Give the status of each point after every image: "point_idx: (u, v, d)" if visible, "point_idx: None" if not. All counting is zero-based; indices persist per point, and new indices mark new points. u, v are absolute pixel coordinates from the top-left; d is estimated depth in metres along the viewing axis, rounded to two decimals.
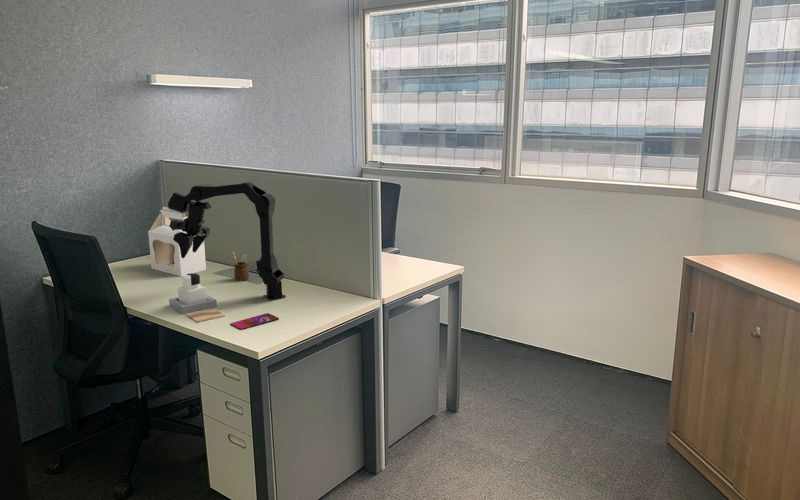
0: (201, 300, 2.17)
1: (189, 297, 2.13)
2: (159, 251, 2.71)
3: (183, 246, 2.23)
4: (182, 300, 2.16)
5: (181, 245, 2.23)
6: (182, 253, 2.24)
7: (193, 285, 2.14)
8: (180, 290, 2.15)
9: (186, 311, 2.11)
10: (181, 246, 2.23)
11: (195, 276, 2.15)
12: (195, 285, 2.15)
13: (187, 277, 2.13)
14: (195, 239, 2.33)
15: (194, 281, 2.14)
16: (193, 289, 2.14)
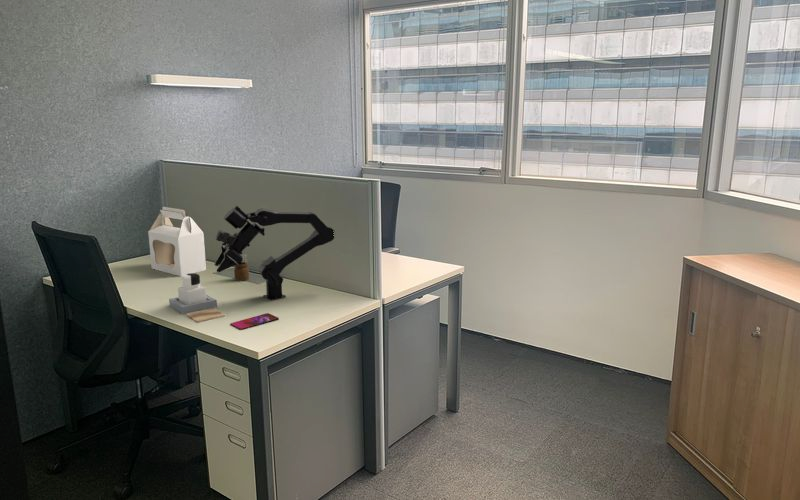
0: (201, 300, 2.17)
1: (189, 297, 2.13)
2: (159, 251, 2.71)
3: (226, 262, 2.14)
4: (182, 300, 2.16)
5: (225, 260, 2.13)
6: (221, 267, 2.14)
7: (193, 285, 2.14)
8: (180, 290, 2.15)
9: (186, 311, 2.11)
10: (225, 261, 2.13)
11: (195, 276, 2.15)
12: (195, 285, 2.15)
13: (187, 277, 2.13)
14: (223, 254, 2.23)
15: (194, 281, 2.14)
16: (193, 289, 2.14)
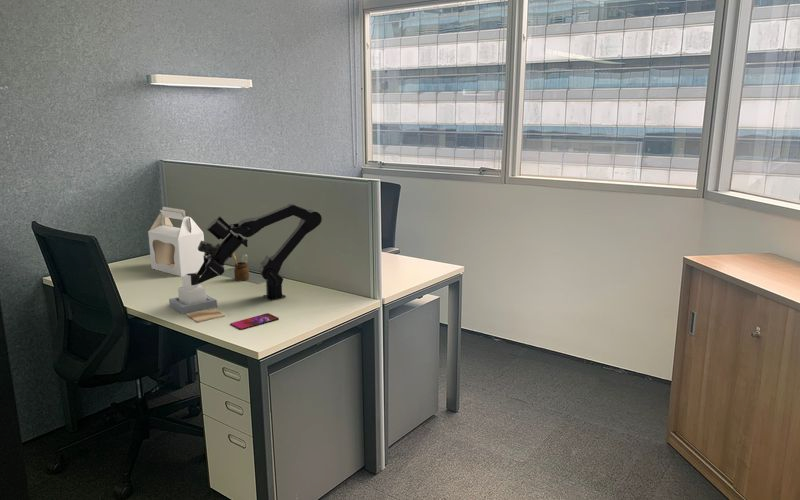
0: (201, 300, 2.17)
1: (189, 297, 2.13)
2: (159, 251, 2.71)
3: (208, 273, 2.12)
4: (182, 300, 2.16)
5: (207, 271, 2.12)
6: (202, 278, 2.12)
7: (193, 285, 2.14)
8: (180, 290, 2.15)
9: (186, 311, 2.11)
10: (206, 272, 2.12)
11: (195, 276, 2.15)
12: (195, 285, 2.15)
13: (187, 277, 2.13)
14: (205, 264, 2.22)
15: (194, 281, 2.14)
16: (193, 289, 2.14)
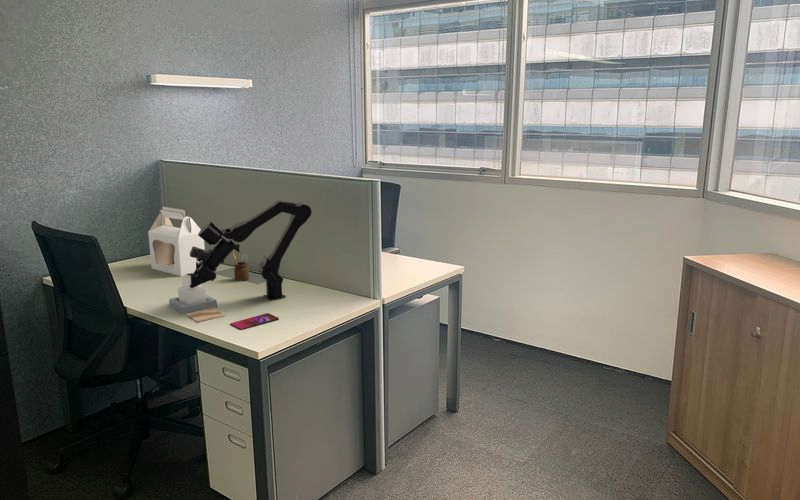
0: (201, 300, 2.17)
1: (189, 296, 2.13)
2: (159, 251, 2.71)
3: (200, 277, 2.13)
4: (182, 300, 2.16)
5: (199, 276, 2.12)
6: (194, 283, 2.13)
7: None
8: (180, 290, 2.15)
9: (186, 311, 2.11)
10: (198, 277, 2.13)
11: (195, 276, 2.15)
12: None
13: (187, 277, 2.13)
14: (198, 271, 2.20)
15: None
16: (193, 289, 2.14)
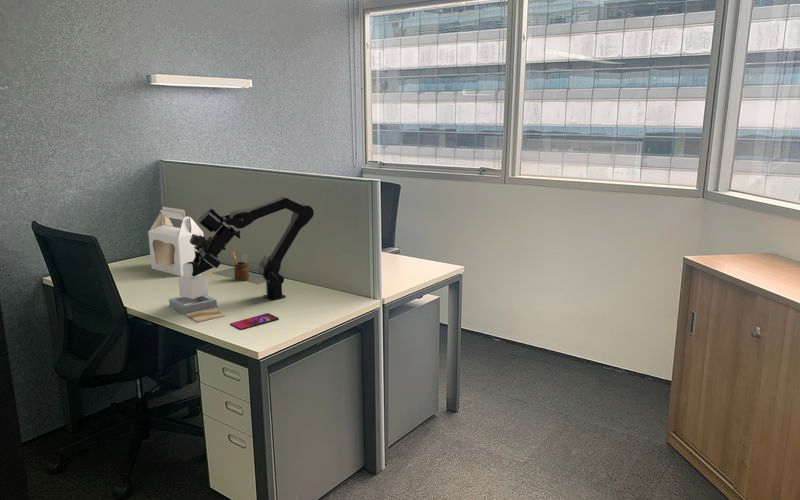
0: (203, 288, 2.13)
1: (191, 285, 2.09)
2: (159, 251, 2.71)
3: (202, 265, 2.09)
4: (183, 289, 2.11)
5: (201, 264, 2.09)
6: (196, 271, 2.09)
7: None
8: (181, 279, 2.11)
9: (186, 311, 2.11)
10: (200, 264, 2.09)
11: (196, 264, 2.11)
12: None
13: (188, 265, 2.09)
14: (198, 259, 2.16)
15: None
16: (195, 277, 2.10)
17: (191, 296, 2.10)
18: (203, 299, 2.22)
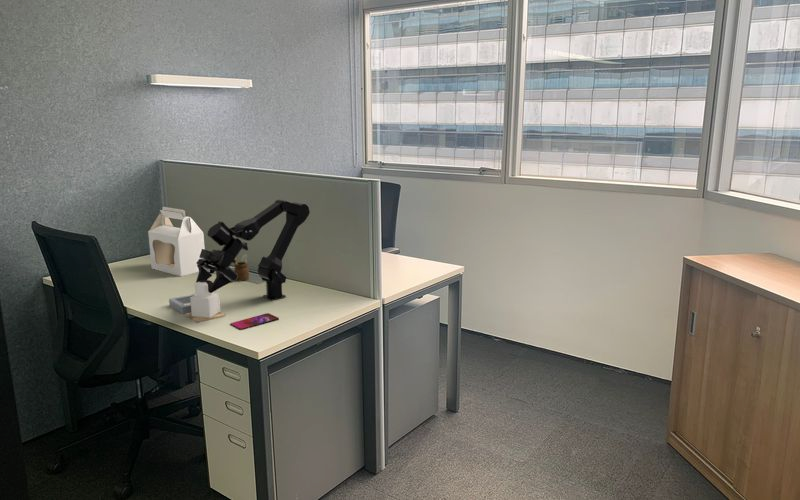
0: (216, 306, 2.08)
1: (209, 304, 2.03)
2: (159, 251, 2.71)
3: (219, 281, 2.04)
4: (197, 309, 2.05)
5: (219, 279, 2.03)
6: (213, 287, 2.03)
7: None
8: (194, 299, 2.04)
9: (186, 311, 2.11)
10: (218, 280, 2.03)
11: (210, 282, 2.06)
12: None
13: (203, 284, 2.04)
14: (203, 274, 2.11)
15: None
16: (210, 296, 2.05)
17: (208, 315, 2.04)
18: None
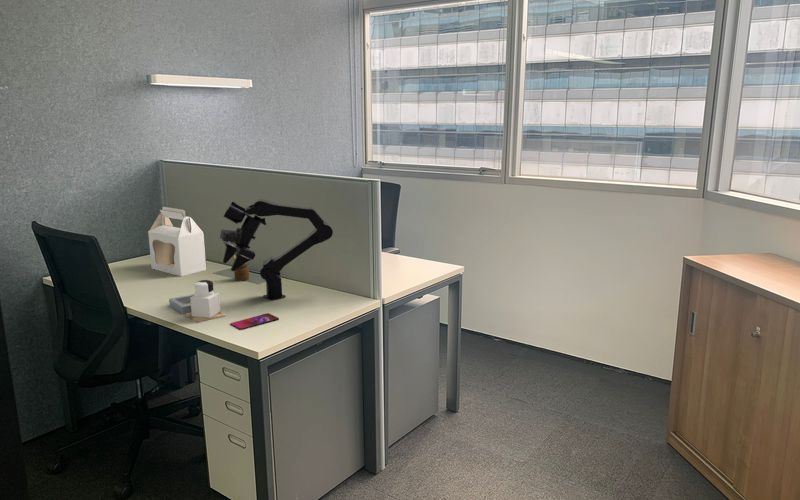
0: (216, 307, 2.08)
1: (209, 304, 2.03)
2: (159, 251, 2.71)
3: (239, 260, 2.17)
4: (197, 309, 2.05)
5: (238, 258, 2.16)
6: (235, 266, 2.17)
7: (210, 292, 2.05)
8: (194, 299, 2.04)
9: (186, 311, 2.11)
10: (237, 259, 2.16)
11: (210, 282, 2.06)
12: (211, 291, 2.06)
13: (203, 284, 2.04)
14: (229, 250, 2.25)
15: (211, 287, 2.05)
16: (210, 296, 2.05)
17: (208, 315, 2.04)
18: None
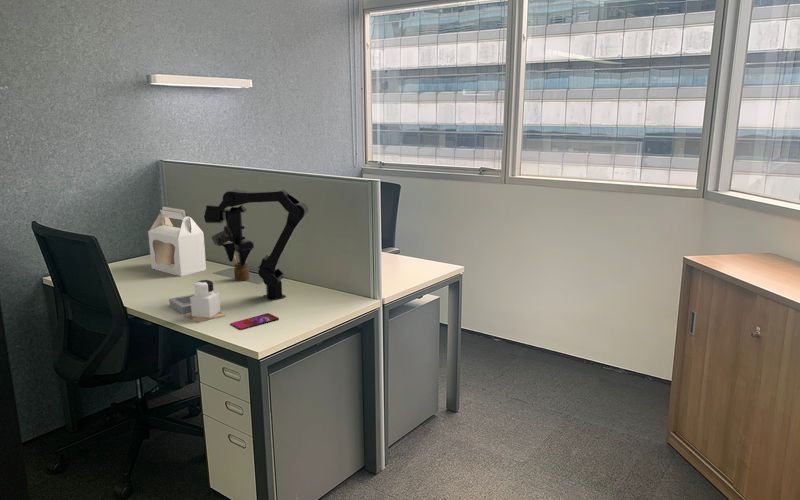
0: (216, 307, 2.08)
1: (209, 304, 2.03)
2: (159, 251, 2.71)
3: (242, 254, 2.22)
4: (197, 309, 2.05)
5: (241, 253, 2.21)
6: (242, 261, 2.23)
7: (210, 292, 2.05)
8: (194, 299, 2.04)
9: (186, 311, 2.11)
10: (241, 254, 2.21)
11: (210, 282, 2.06)
12: (211, 291, 2.06)
13: (203, 284, 2.03)
14: (228, 248, 2.29)
15: (211, 287, 2.05)
16: (210, 296, 2.05)
17: (208, 315, 2.04)
18: None
